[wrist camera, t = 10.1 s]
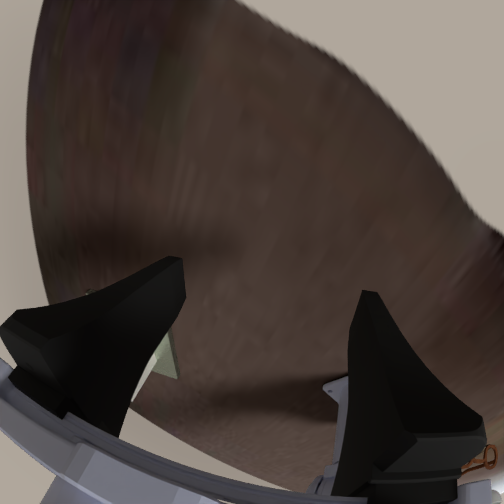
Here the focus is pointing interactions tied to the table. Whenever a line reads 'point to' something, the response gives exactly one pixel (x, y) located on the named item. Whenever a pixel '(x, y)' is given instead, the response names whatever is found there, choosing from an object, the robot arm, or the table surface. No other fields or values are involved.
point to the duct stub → (163, 355)
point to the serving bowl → (496, 497)
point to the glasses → (482, 461)
